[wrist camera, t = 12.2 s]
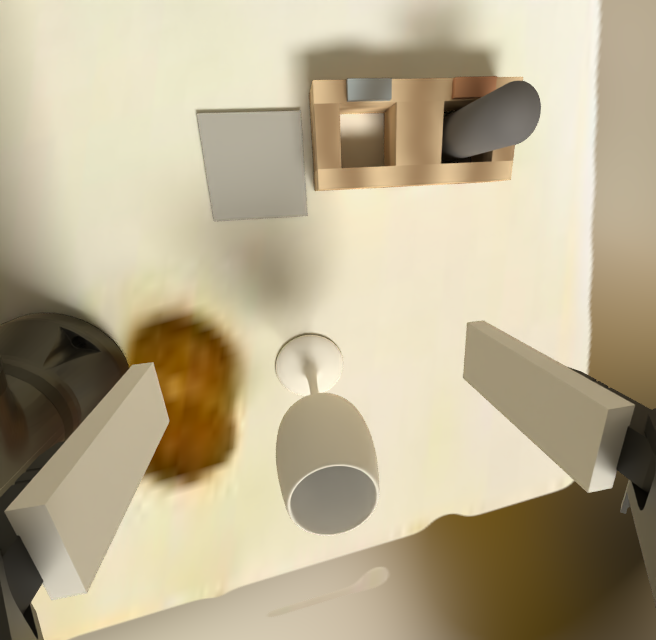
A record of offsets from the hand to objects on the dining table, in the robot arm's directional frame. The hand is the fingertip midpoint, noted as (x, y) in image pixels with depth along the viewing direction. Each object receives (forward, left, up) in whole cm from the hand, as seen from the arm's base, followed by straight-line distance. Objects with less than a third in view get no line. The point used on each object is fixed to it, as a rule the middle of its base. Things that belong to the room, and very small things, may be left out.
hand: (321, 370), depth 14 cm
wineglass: (+1, -13, -26) cm, 29 cm away
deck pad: (-3, +10, -26) cm, 28 cm away
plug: (+18, +12, -26) cm, 34 cm away
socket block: (+13, +12, -26) cm, 32 cm away
